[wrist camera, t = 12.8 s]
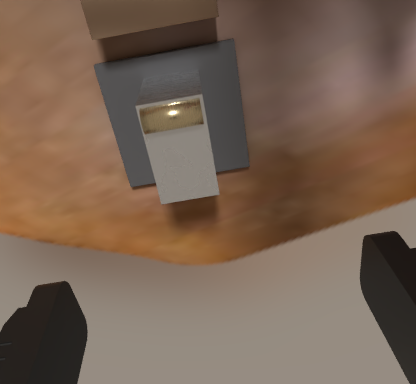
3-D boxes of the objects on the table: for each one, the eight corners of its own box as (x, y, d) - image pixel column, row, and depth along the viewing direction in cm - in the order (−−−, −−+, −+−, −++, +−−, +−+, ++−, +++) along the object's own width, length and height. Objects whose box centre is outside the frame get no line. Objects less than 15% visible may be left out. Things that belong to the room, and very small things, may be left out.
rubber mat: (95, 64, 28) (93, 66, 28) (233, 38, 28) (234, 40, 28) (131, 183, 33) (130, 187, 33) (248, 163, 33) (249, 166, 33)
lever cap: (143, 79, 28) (134, 110, 23) (197, 69, 28) (202, 98, 23) (164, 164, 32) (161, 210, 26) (213, 156, 32) (220, 200, 26)
